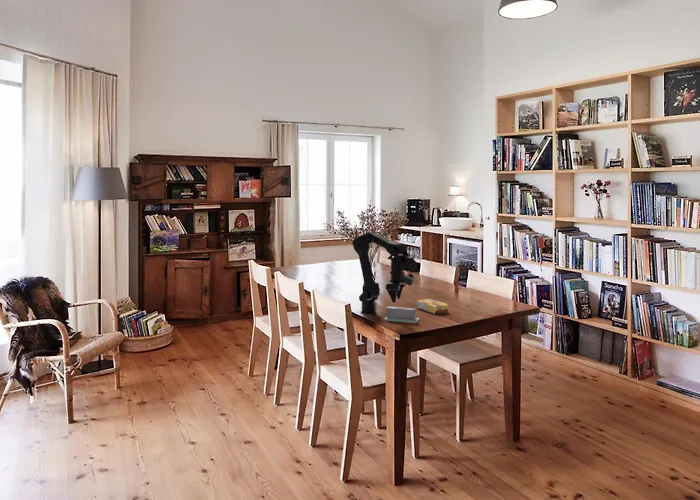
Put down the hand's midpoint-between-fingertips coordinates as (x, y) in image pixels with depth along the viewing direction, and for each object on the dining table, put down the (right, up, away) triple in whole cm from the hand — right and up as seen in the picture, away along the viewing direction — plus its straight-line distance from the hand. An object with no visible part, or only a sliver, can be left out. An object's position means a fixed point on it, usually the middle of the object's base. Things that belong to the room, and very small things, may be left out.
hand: (396, 300), depth 263 cm
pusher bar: (+2, -9, +1) cm, 9 cm away
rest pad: (+3, -9, 0) cm, 10 cm away
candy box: (+24, -6, +13) cm, 28 cm away
